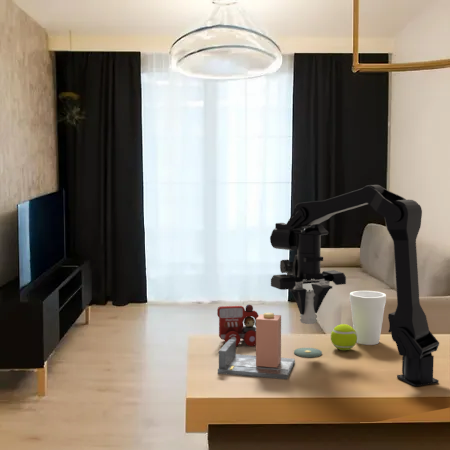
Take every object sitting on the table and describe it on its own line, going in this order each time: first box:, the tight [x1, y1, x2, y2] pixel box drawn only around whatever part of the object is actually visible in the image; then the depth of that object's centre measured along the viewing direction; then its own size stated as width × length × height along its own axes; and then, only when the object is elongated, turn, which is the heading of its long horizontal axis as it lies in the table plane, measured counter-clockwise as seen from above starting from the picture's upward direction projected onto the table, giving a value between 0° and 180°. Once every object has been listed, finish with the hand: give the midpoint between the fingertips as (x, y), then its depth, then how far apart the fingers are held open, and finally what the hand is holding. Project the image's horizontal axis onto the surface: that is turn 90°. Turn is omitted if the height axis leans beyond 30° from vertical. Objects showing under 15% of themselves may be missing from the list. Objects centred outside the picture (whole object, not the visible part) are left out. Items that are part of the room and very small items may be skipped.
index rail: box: [217, 339, 296, 380], centre depth 144 cm, size 16×12×5 cm
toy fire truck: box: [216, 304, 260, 347], centre depth 165 cm, size 7×12×10 cm, turn 100°
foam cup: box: [349, 290, 387, 346], centre depth 166 cm, size 10×9×13 cm
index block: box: [255, 312, 282, 368], centre depth 143 cm, size 5×5×12 cm
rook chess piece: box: [299, 289, 318, 325], centre depth 155 cm, size 4×4×8 cm
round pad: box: [293, 347, 323, 359], centre depth 156 cm, size 7×7×1 cm
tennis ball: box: [330, 323, 357, 351], centre depth 159 cm, size 7×7×7 cm
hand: (308, 313), depth 155 cm, fingers closed on rook chess piece, 3 cm apart
